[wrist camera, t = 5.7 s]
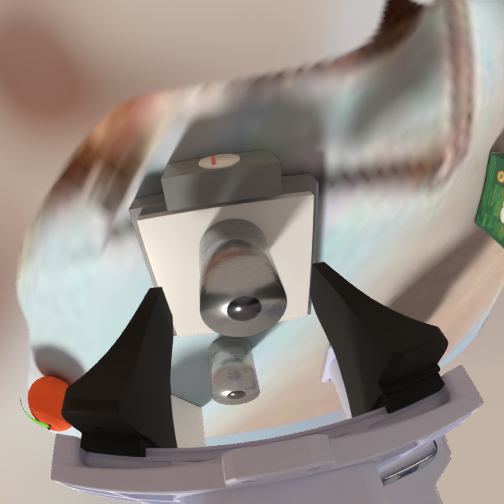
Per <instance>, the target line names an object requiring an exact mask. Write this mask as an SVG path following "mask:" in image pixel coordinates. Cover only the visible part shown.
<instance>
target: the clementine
mask: <svg viewBox="0 0 504 504" xmlns="http://www.w3.org/2000/svg"><path fill="white" fill-rule="evenodd" d="M67 387H69V385H68V384H67V383H66V382H64V381H63V380H61V379H59V378H56V377H52V376H49V377H42V378H40V379H38V380H36V381H35V382H34V383H33V384H32V386H31V388H30V390H29V392H28V403H29V408H30V410H31V413H32V415H33V416H34V417H35V419H36V420H35V419H33V418H32V417H30V416H29V415H28V414H27V415H28V416H29V417H30V418H31V419H32V420H33V421H34V422H36V423H37V424H39V425H41V426H44V427H46V428H48V430H54V431H63V430H67V429H69V428H70V427H72V425H70V424H69V423H68V422H67V421H66V420H65V419H64V418H63V417H62V415H61V410H62V405H63V400H64V395H65V391H66V388H67ZM20 401H21V400H20ZM21 405H22V404H21ZM25 413H26V412H25Z"/></svg>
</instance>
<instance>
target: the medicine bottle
mask: <svg viewBox="0 0 504 504" xmlns="http://www.w3.org/2000/svg"><path fill="white" fill-rule="evenodd" d="M171 403H172V413H173V422H174V429H175V436H176V441H177V447H178V448H192V447H205V438H204V427H203V415H202V408H201V407H199V406H196V405H194V404H192V403H189V402H187V401H185V400H182V399H180V398H178V397H176V396H174V395H171Z"/></svg>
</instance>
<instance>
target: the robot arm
mask: <svg viewBox="0 0 504 504" xmlns="http://www.w3.org/2000/svg"><path fill="white" fill-rule="evenodd" d="M310 297H311V300H312V303H313V306H314V309H315V312H316V315H317V317H318V319H319V321H320V323H321V325H322V327H323V330H324V332H325V334H326V336H327V338H328V340H329V342H330V344H331V345H330V346H329V348H328V353H327V357H326V362H325V366H324V370H323V374H322V379H321V380H322V382H323V383H325V382H329V381H333V382H334V385H335V387H336V390H337V393H338V395H339V398H340V401H341V403H342V406H343V409H344V411H345V414H346V417H347V420H344V421H341V422H338V423H334V424H331V425H327V426H323V427H319V428H315V429H311V430H307V431H304V432H299V433H294V434H290V435H285V436H280V437H275V438H270V439H264V440H258V441H251V442H244V443H237V444H229V445H219V446H208V447H192V448H178V447H177V441H176V436H175V429H174V422H173V413H172V403H171V388H170V371H171V358H172V346H173V315H172V313H171V310H170V308H169V305H168V302H167V299H166V297H165V294H164V291H163V288H162V287H155V288H150V289H149V290H148V292H147V294H146V295H145V297H144V299H143V301H142V302H141V304H140V306H139V307H138V309H137V311H136V312H135V314H134V316H133V317H132V319H131V320H130V322H129V324H128V325H127V327H126V328H125V329H124V331H123V332H122V334H121V335H120V337H119V338H118V339H117V341H116V342H115V343H114V345H113V346H112V347H111V348H110V349H109V351H108V352H107V353H106V354H105V355H104V356H103V357H102V358H101V359H100V360H99V361H98V362H97V363H96V364H95V365H94V366H93V367H92V368H91V369H90V370H89V371H88V372H87V373H85V374H84V375H83V376H82V377H81V378H79V379H78V380H77V381H75V382H74V383H73V384H72V385H70V386H69V387H67V388H66V391H65V395H64V400H63V405H62V410H61V415H62V417H63V418H64V419H65V420H66V421H67V422H68V423H69V424H70V425H72V426H73V427H74V428H76V429H77V430H78V431H80V432H81V433H82V436H81V439H80V438H78V437H75V436H69V435H63V434H56V438H55V444H54V452H53V460H52V470H51V480H53V481H55V482H57V483H59V484H62V485H64V486H67V487H69V488H72V489H75V490H77V491H80V492H83V493H88V494H92V495H97V496H102V497H107V498H113V499H118V500H125V501H131V502H139V503H148V504H443V503H442V500H441V498H440V495H439V492H438V490H437V487H436V485H435V484H436V483H437V481H438V479H439V478H440V476H441V475H442V473H443V472H444V470H445V468H446V467H447V465H448V464H449V462H450V459H451V458H450V455H451V451H450V449H449V446H448V444H447V439H446V437H445V434H446V433H447V432H449V431H451V430H452V429H454V428H456V427H457V426H459V425H460V424H461V423H462V422H464V421H465V420H466V419H467V418H468V417H469V416H470V415H472V414H473V413H474V412H475V411H476V410H477V409H478V408H480V406H482V405H483V403H484V401H483V399H482V398H481V396H480V394H479V392H478V391H477V389H476V387H475V385H474V384H473V382H472V380H471V379H470V377H469V375H468V374H467V372H466V370H465V369H464V367H463V366H462V365H460V366H458V367H456V368H454V369H453V370H451V371H449V372H447V373H445V374H444V375H443V376H440V375H439V373H438V372H439V371H440V367H439V366H438V364H437V363H438V362H439V360H440V359H441V357H442V356H443V354H444V353H445V351H446V349H447V346H448V340H447V339H446V337H445V336H444V334H443V333H442V332H441V330H440V329H439V327H437V326H433V325H430V324H426V323H423V322H420V321H417V320H414V319H412V318H409V317H407V316H404V315H402V314H400V313H398V312H395V311H393V310H391V309H389V308H387V307H386V306H384V305H382V304H380V303H379V302H377V301H375V300H373V299H372V298H370V297H369V296H367V295H366V294H364V293H363V292H362V291H360V290H359V289H357V288H356V287H355V286H353V285H352V284H351V283H349V282H348V281H347V280H346V279H344V278H343V277H342V276H341V275H339V274H338V273H337V272H336V271H335V270H333V269H332V268H331V267H330V266H329V265H327V264H326V263H325V262H320V263H314V264H312V273H311V287H310ZM432 454H433V455H432ZM430 455H432V456H430ZM428 456H430V457H429V458H428V459H427V460H424V461H423V462H421V463H419V464H417V465H415V466H413V467H411V468H409V469H407V470H405V471H403V472H401V473H399V474H397V475H395V476H393V477H391V478H387V477H389V476H391V475H393V474H395V473H397V472H399V471H402V470H404V469H406V468H408V467H410V466H412V465H414V464H415V463H417V462H419V461H421V460H423V459H425V458H426V457H428ZM385 478H387V479H385Z"/></svg>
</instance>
